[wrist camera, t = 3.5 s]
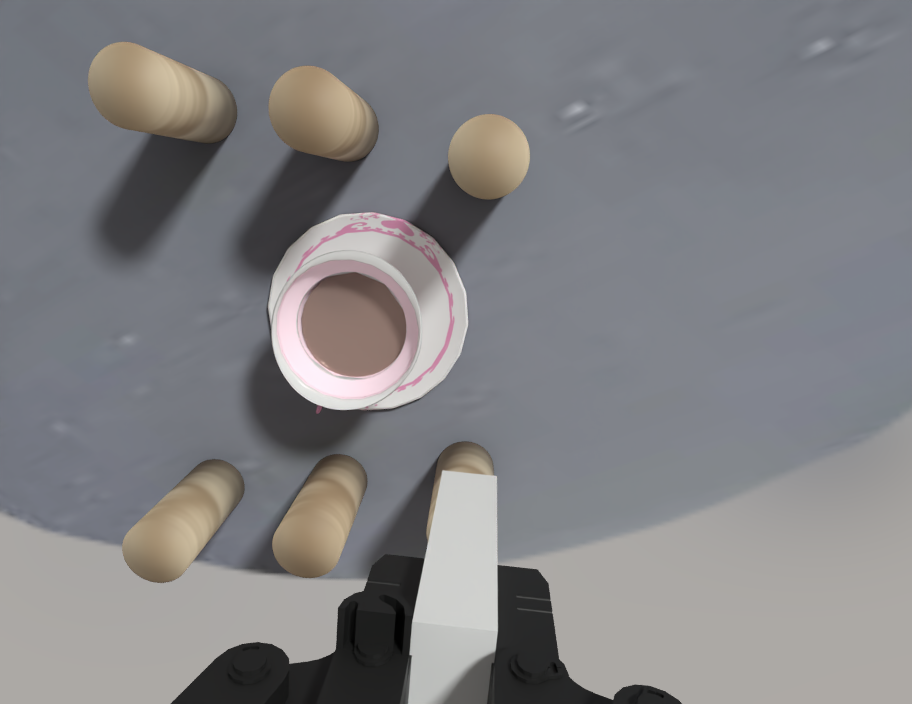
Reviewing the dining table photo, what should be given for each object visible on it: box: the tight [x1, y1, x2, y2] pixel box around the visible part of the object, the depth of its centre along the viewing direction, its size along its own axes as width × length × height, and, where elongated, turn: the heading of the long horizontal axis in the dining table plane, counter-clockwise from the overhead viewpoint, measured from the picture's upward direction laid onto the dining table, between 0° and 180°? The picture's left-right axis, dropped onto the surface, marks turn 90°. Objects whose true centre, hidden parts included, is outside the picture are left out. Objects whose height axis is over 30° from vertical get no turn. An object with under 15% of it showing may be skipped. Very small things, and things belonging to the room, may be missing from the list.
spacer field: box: [88, 42, 530, 583], centre depth 34 cm, size 20×27×8 cm
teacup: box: [268, 212, 468, 414], centre depth 35 cm, size 12×12×6 cm
